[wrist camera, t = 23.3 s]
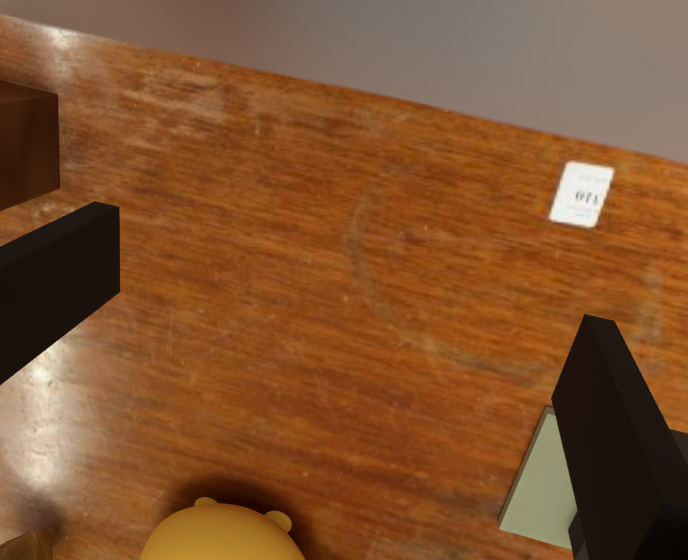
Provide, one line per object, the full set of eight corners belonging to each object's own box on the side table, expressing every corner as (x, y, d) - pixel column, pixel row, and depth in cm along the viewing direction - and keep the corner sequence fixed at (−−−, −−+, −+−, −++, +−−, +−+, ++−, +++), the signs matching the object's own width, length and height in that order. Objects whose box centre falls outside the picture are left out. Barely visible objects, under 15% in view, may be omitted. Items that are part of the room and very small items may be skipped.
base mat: (545, 405, 43) (552, 435, 40) (793, 471, 42) (821, 507, 38) (497, 519, 48) (500, 554, 45) (717, 582, 47) (736, 622, 43)
